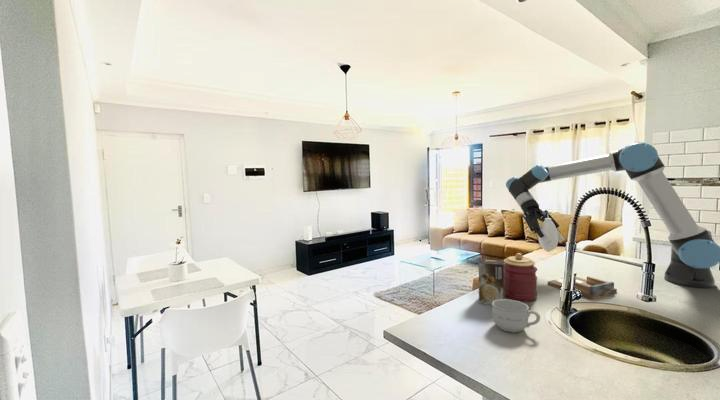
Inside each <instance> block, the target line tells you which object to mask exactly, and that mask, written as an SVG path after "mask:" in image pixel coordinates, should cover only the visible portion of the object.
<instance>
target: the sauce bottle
mask: <svg viewBox="0 0 720 400" xmlns="http://www.w3.org/2000/svg"><path fill="white" fill-rule="evenodd" d="M541 229H542V230H543V232H544V233H545V234H546V235H547V237H548V238H549V239H550V242H549V243H548V244H545V243H544V241H543V240H542V238H540V237H539V235H538V234H537V235H538V237H537V238H538V243H539V246H540V248H542V249H543V251H545V252H548V253H551V252H552V251H553V250H556V248H557V246H558V244H559V241H558V232H557V229H558V228H557V229H556V227H555V225H554V223H553V222H552V221H551V218H549V216H548V214H547V218H545V221H544V222H542V223H541V224H540V230H541Z"/></svg>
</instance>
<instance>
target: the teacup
mask: <svg viewBox="0 0 720 400" xmlns="http://www.w3.org/2000/svg"><path fill="white" fill-rule="evenodd" d="M491 306H492V320H493V322H494V323H495V325H496V326H498V328H499V329H500V330H502V331H504V332H505V331H506V332H509V333H519V332H522V331H523V330H525V329H526V328H530V327H531V326H534V325H537V324H539V322H540V321H541V315H540V313H539V312H538V311H537V310H534V309H530V310H529V308H530V307H529V305H528V304H526V303H524V302H523V301H515V300H511V299H508V298H504V299H499V300H495V301H493V302H492V305H491ZM531 314H532V315H535V317H536V319H535V320H533V321H529V317H530V316H531Z"/></svg>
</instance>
